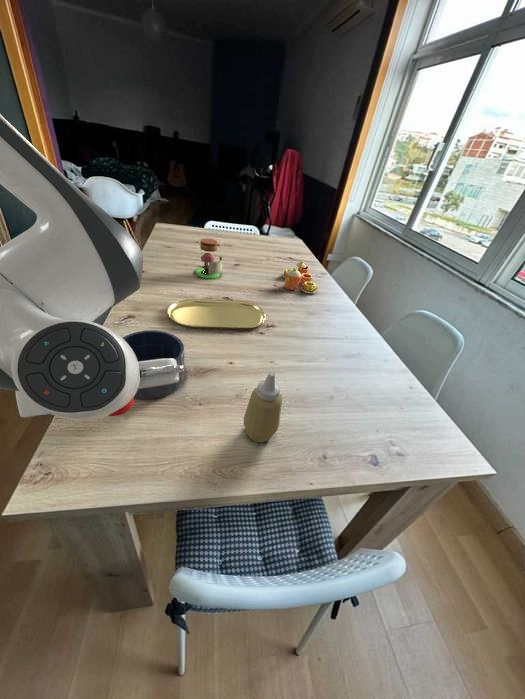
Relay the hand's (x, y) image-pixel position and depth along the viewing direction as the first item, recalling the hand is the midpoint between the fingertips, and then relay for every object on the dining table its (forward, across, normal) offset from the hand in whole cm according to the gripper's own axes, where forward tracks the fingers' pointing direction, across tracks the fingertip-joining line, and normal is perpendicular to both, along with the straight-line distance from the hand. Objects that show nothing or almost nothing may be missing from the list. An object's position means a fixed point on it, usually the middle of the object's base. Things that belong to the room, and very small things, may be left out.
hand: (112, 382), depth 49 cm
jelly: (+3, 0, +4) cm, 4 cm away
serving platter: (+46, -33, -21) cm, 60 cm away
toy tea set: (+64, -80, -38) cm, 109 cm away
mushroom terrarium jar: (+72, -38, -47) cm, 94 cm away
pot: (+27, -7, -2) cm, 28 cm away
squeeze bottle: (+10, -28, +16) cm, 34 cm away
